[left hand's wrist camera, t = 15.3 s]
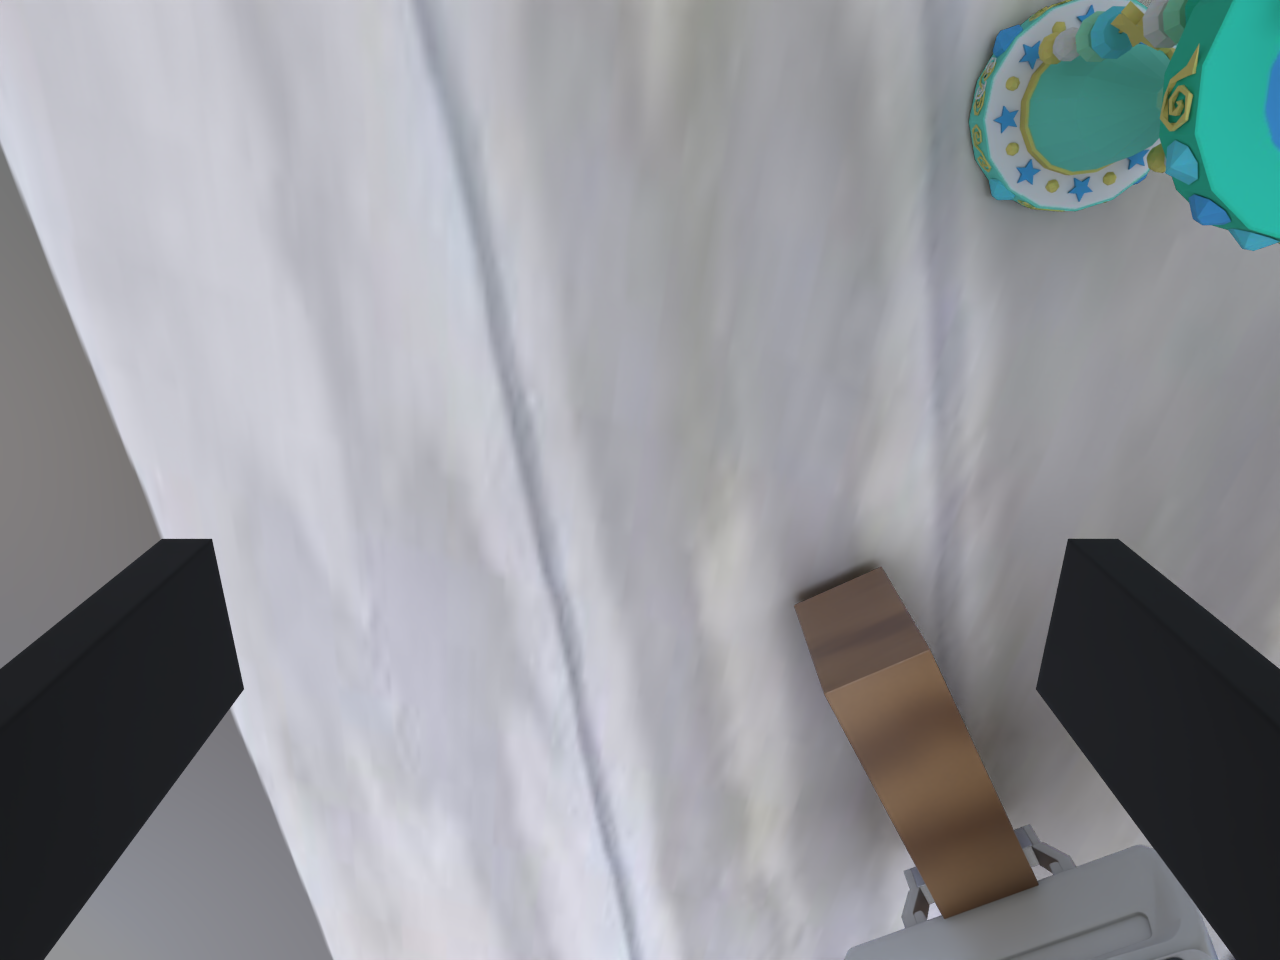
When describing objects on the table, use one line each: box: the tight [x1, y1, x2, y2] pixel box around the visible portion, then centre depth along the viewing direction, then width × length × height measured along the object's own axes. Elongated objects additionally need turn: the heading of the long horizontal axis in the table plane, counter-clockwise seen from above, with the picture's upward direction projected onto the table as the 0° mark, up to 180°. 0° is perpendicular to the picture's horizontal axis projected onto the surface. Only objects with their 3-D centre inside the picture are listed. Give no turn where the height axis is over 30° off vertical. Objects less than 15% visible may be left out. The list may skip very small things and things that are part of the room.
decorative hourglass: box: [969, 0, 1280, 251], centre depth 29 cm, size 11×11×30 cm
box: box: [794, 567, 1039, 919], centre depth 51 cm, size 24×6×9 cm, turn 28°
